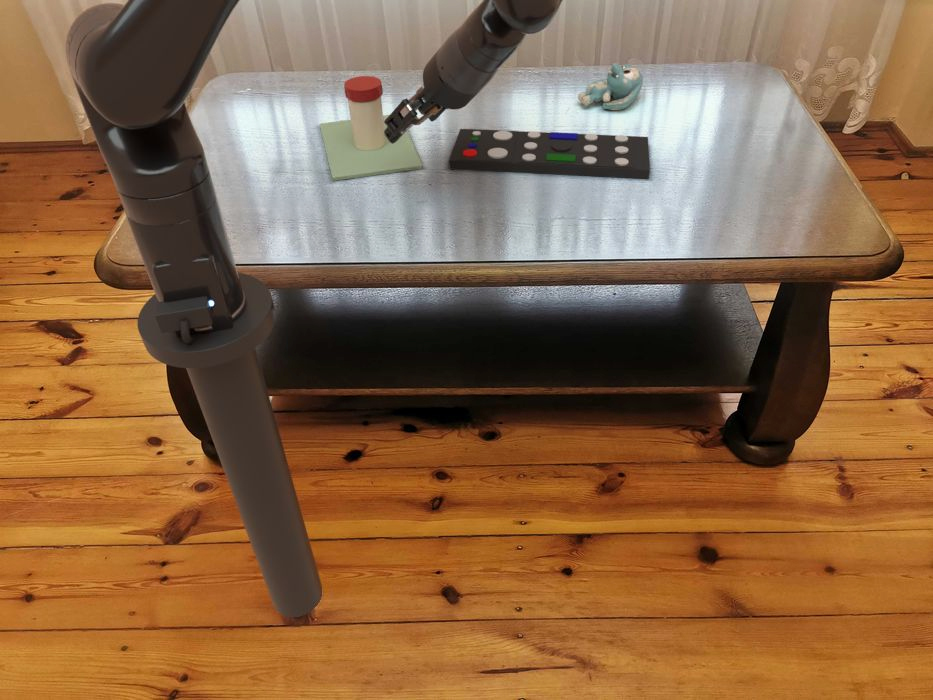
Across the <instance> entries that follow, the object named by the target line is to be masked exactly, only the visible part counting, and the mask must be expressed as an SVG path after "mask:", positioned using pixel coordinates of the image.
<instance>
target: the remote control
mask: <svg viewBox="0 0 933 700" xmlns="http://www.w3.org/2000/svg"><path fill="white" fill-rule="evenodd" d="M649 148H650V147H649V136H637V135H635V136H634V135H624V134H618V135H613V134H595V133H578V132H555V131H549V132H545V131H544V132H542V131H533V130H532V131H523V130H521V131H520V130H504V129H502V130H501V129H500V130H499V129H479V128H478V129H477V128H459V131H458V134H457V136H456V139H455V142H454V145H453V148H452V151H451V153H450V156H449V159H448V169H449V170H464V171H483V172H499V173H500V172H502V173H519V174H520V173H523V174H538V175H539V174H540V175H561V176H577V177H578V176H581V177H599V178H600V177H602V178H622V179H638V180H640V179H641V180H649V179H650V174H651V173H650V172H651V165H650V149H649Z"/></svg>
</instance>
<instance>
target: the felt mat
mask: <svg viewBox="0 0 933 700" xmlns="http://www.w3.org/2000/svg"><path fill="white" fill-rule="evenodd" d="M389 115H390V114H385V115H384V114H383V119H384V121H385V119H386V118H388V117H389ZM387 127H388V126H387V125H386V124H385V123H384V129H386V128H387ZM319 128H320V133H321V136H322V137H321V138H322V141H323V145H324V149H325V153H326V158H327V162H328V166H329V171H330V174H331V175H330V176H331V180H332V182H336V181H343V180H351V179H357V178H359V179H360V178H364V177H373V176H380V175H386V174H393V173H394V174H395V173H400V172H408V171H414V170H415V171H417V170H422V169H424V165H423V163H422V160H421V158H420V156H419V153H418V151H417V149H416V146H415V144H414V143H413V140H412V138H411V136H410V133H409V130H407V132H405V133H404V134H403V135H402V136H401V137H400V138H399V140H398V141H397V142H395V143H393V144H392V143H391V142H389V140H388V139H387V137H386V136H385V139H386V144H385V145H384V146H383V147H382V148H380V149H377V150H372V151H363V150H359V149H357V148H355V146H354V142H353V135H352V127H351V119H345V120H337V121H330V122H322V123H319Z"/></svg>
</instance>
